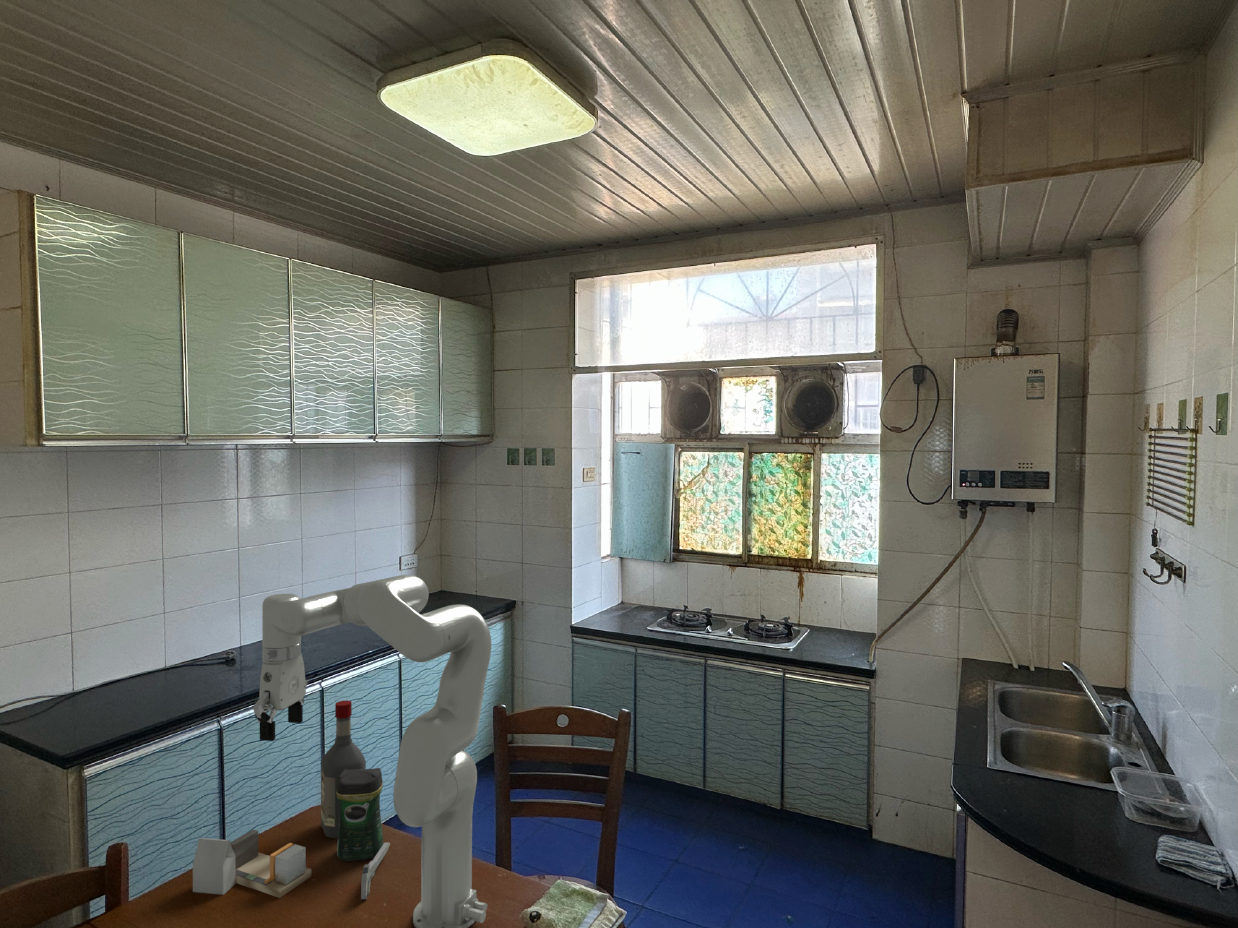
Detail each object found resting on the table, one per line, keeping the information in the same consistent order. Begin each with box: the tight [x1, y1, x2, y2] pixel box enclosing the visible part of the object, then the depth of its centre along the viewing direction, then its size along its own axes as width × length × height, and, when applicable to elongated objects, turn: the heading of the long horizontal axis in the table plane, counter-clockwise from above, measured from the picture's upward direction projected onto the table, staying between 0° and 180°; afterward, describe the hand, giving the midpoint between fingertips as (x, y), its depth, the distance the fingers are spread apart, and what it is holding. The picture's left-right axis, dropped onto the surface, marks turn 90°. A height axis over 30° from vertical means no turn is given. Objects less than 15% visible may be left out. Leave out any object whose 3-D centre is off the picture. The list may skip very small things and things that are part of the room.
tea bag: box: [192, 837, 236, 895], centre depth 145 cm, size 4×7×10 cm, turn 83°
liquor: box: [320, 699, 367, 840], centre depth 168 cm, size 9×9×30 cm
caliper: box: [360, 842, 391, 901], centre depth 151 cm, size 20×1×6 cm, turn 5°
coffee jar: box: [336, 767, 384, 862], centre depth 158 cm, size 10×8×19 cm
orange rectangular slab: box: [265, 842, 294, 884], centre depth 146 cm, size 1×6×5 cm, turn 157°
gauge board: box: [230, 829, 312, 899], centre depth 148 cm, size 16×8×7 cm, turn 67°
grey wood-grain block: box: [275, 844, 307, 884], centre depth 146 cm, size 3×5×5 cm, turn 157°
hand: (281, 730), depth 152 cm, fingers open, 9 cm apart
